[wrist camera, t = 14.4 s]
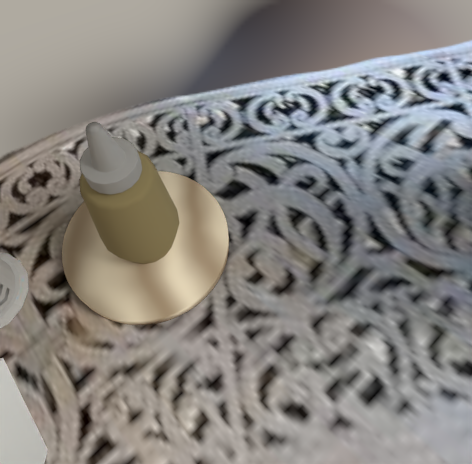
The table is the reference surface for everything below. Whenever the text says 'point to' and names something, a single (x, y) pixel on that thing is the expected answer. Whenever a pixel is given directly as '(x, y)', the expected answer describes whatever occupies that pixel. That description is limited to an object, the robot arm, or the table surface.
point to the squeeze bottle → (126, 198)
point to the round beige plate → (152, 274)
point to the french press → (11, 287)
